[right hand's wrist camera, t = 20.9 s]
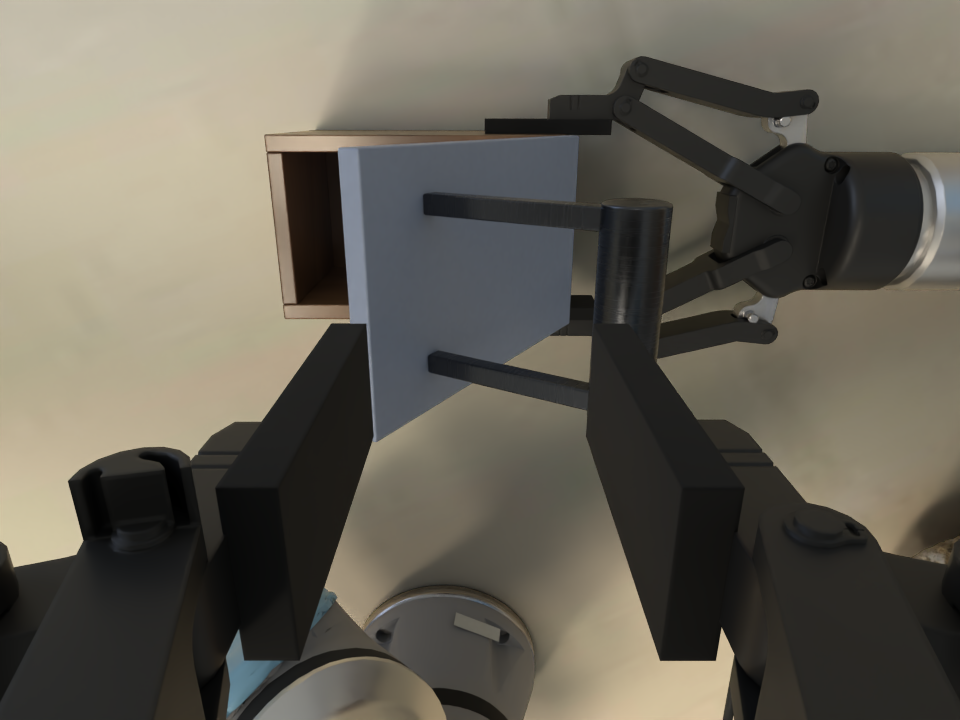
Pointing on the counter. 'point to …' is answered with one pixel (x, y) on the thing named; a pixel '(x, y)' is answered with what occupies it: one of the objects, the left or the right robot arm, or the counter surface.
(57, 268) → the counter surface
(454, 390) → the lid
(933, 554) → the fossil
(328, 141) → the chest
